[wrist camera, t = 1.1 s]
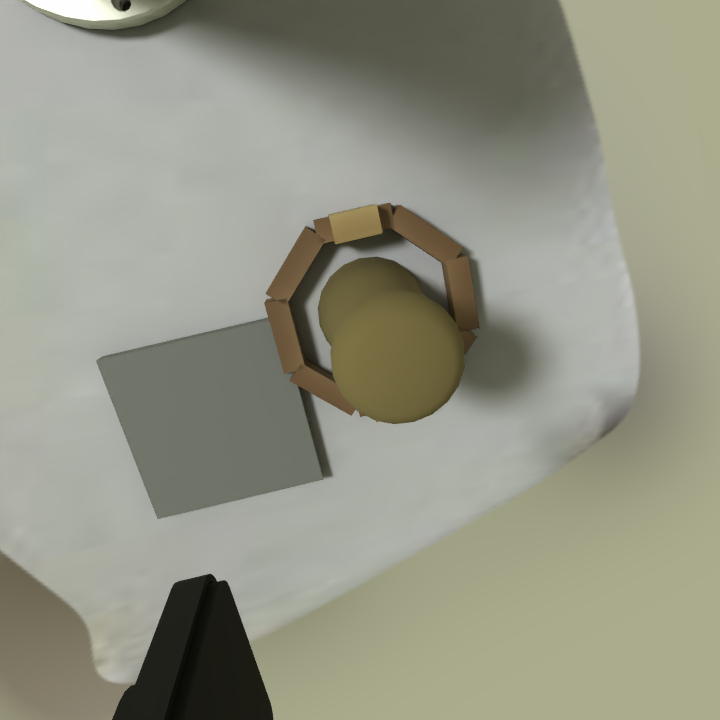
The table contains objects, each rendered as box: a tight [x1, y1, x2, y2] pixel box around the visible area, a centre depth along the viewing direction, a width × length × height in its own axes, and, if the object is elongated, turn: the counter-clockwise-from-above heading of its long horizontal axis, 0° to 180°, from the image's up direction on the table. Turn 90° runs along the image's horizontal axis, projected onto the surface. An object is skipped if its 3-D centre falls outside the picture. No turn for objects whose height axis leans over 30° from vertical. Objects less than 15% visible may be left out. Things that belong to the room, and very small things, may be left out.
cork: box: [318, 257, 464, 424], centre depth 24 cm, size 6×6×11 cm
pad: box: [96, 318, 323, 519], centre depth 30 cm, size 10×10×1 cm
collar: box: [264, 203, 479, 422], centre depth 28 cm, size 11×11×2 cm
